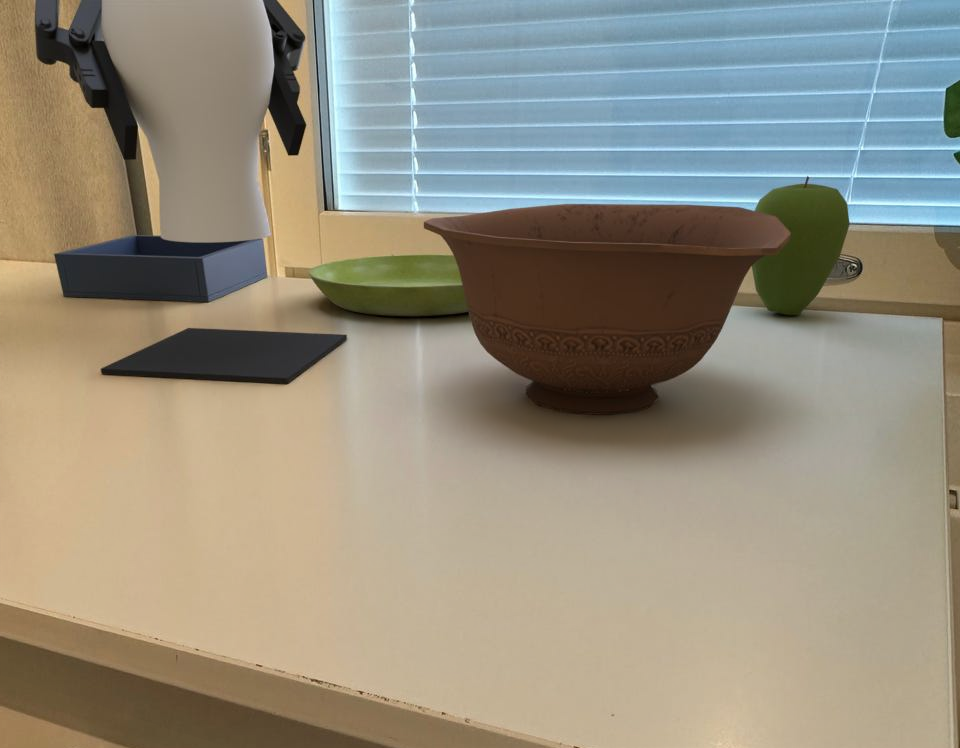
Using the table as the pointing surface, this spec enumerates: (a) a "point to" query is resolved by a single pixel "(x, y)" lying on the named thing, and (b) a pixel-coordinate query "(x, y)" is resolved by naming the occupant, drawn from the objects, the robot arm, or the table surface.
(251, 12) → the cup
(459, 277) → the saucer
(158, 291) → the bin
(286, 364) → the mat
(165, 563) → the table surface
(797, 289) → the apple
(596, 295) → the bowl
